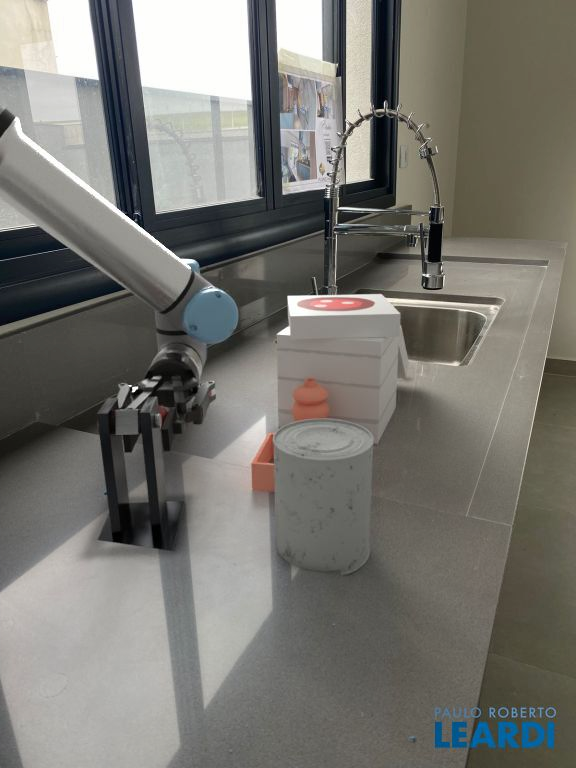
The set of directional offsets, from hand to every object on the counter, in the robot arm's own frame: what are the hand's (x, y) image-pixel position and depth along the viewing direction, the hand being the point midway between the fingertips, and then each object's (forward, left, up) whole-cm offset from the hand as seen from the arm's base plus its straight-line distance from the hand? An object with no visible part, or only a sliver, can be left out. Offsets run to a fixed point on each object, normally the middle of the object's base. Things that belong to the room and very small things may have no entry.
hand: (146, 440), depth 67 cm
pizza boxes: (+17, +36, -8) cm, 40 cm away
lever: (0, -1, +1) cm, 1 cm away
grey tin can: (+21, -4, -8) cm, 23 cm away
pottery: (+15, +14, -8) cm, 22 cm away
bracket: (+2, -6, -8) cm, 10 cm away
